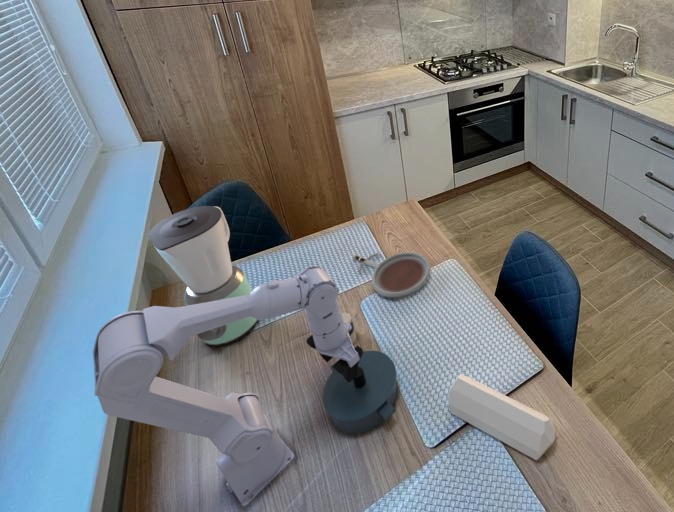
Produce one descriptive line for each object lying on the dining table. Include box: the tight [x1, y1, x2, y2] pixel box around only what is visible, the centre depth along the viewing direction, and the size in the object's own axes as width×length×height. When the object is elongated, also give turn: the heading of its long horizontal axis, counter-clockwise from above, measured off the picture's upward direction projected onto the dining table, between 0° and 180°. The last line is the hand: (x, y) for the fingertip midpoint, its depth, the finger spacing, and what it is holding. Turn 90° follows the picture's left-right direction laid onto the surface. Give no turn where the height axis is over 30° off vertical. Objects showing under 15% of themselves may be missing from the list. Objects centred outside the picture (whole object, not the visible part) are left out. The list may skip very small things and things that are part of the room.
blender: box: [147, 205, 259, 347], centre depth 100 cm, size 19×13×35 cm
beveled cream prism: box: [447, 373, 556, 461], centre depth 84 cm, size 7×7×24 cm
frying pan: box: [352, 251, 431, 300], centre depth 122 cm, size 17×3×28 cm
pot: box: [330, 365, 398, 435], centre depth 87 cm, size 14×19×6 cm
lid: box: [322, 350, 397, 422], centre depth 85 cm, size 15×15×5 cm
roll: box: [341, 312, 357, 344], centre depth 100 cm, size 4×4×8 cm
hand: (341, 367), depth 84 cm, fingers open, 7 cm apart
